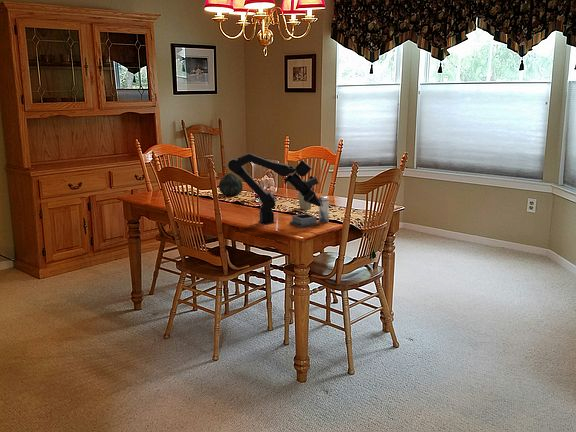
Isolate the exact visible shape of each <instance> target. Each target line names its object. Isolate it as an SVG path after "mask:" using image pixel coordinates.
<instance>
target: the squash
mask: <svg viewBox="0 0 576 432" xmlns="http://www.w3.org/2000/svg"><path fill="white" fill-rule="evenodd" d="M243 187H244V185H243V181H242V180H241V179H240V177H238V175H235V174H234V173H229V172H228V173H226V174H225V175H224V176H223V177H222V178H220V180H219V183H218V189H219V191H220V193H222V194H224V195H225V196H227V195H229V196H230V195H233V196H237V195H239V194H241V192H242V191H243Z"/></svg>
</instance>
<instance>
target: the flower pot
mask: <svg viewBox="0 0 576 432" xmlns="http://www.w3.org/2000/svg"><path fill="white" fill-rule="evenodd" d="M296 195H297V198H298V203H299V208H300V210H301V209H302V210H308V209H309V210H310V209H312V204H311V203H308V202H306V201H305V200H304V199H303V196H302V195H301V193H300V192H299V191H298V192H297V193H296Z"/></svg>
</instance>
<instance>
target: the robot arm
mask: <svg viewBox="0 0 576 432" xmlns="http://www.w3.org/2000/svg"><path fill="white" fill-rule="evenodd" d="M248 163H252V164H255V165H258V166H261V167H263V168H265V169H268V170H271V171H273V172H275V173H276V174H277V175H279V176H281V177H283V181H284V182H283V183H284V184H287V183H289V184H290V185H291V186H293V188H294V189H295V191H297V192H298V193H299V192H300V193H301V195H302V196H303V199H304V200H305V201H306V202H308V203H311V205H315V206H318V207H319V206H321V204H320V202H319V197H318V196H317V195H316V193H315V188H314V186H315V185H318V184H320V183H319V179H318V178H317V177H316V176H313V175H309V176H308V179H307V180H305V179H302V177H306V176H307V174H308V173H310V172H311V171H312V167H311V165H309V164H308V163H307V162H306V161H304V160H303V159H301V160H300V162H299V163H298V164H297V165H296V166H291V165H288V164H286V163H283V162H275V161H272V160H269V159H266V158H263V157H261V156H259V155H255V154H253V153H251V152H248V153H246V154H244V155H243V156H240V157H233V158H231V159H230V160H229V161H228V164H227V167H228V169H229V170H230V171H231V172H232V173H233V174H234V175H235V174H236V176H237V177H238V176H239V178H241V179H242V180H243V181H244V183H245V184H246V185H248V187H249V188H250V189H251V190H252V191H253V192H254V193H255V194H256V196H258V197H259V200H260V201H261V205H260V209H259V212H258V213H259V220H258V223H259V224H262V225H268V224H274V223H275V214H274V210H273V209H275V207H276V203H277V202H276V198H275V195H273V194H272V192H271V191H270V190H269V191H266V190H264V189H263V188H262V186H260V184H259V183H258V182H257V181H256V180H255V178H253V177H252V176H251V175H250V173H248V172H247V171H246V169H245V167H244V165H247V164H248Z"/></svg>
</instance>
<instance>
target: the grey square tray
mask: <svg viewBox="0 0 576 432" xmlns="http://www.w3.org/2000/svg"><path fill="white" fill-rule="evenodd" d="M291 217H292V220H290V221H289V224H290V225H292V226H296V227H298V228H300V229H302V228H308V227H314V226H320V222H319V221H317V216H314V215H312V214H311V213H310V214H309V213H301V214H295V215H292V216H291Z"/></svg>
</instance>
